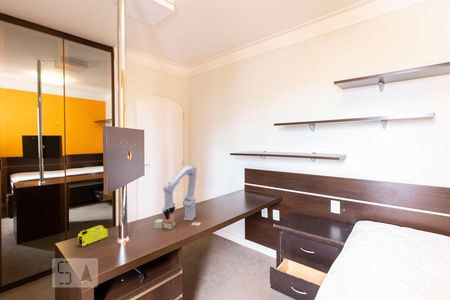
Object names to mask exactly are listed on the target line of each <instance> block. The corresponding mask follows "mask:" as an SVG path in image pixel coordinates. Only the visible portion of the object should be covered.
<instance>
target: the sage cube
mask: <svg viewBox="0 0 450 300" xmlns="http://www.w3.org/2000/svg"><path fill="white" fill-rule="evenodd" d="M164 223H165V218H164V219H162V218H161V219H160V218H159V219H158V218H157V219H156V220H155V221H154V229H162V228H164Z"/></svg>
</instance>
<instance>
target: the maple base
mask: <svg viewBox="0 0 450 300" xmlns="http://www.w3.org/2000/svg"><path fill="white" fill-rule="evenodd" d="M174 227H176V221H174V220H173V221H171V222H168V221H165V222H164V226H163V228H164V229H168V230H169V229H170V230H171V229H173V228H174Z"/></svg>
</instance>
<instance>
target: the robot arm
mask: <svg viewBox="0 0 450 300" xmlns="http://www.w3.org/2000/svg"><path fill="white" fill-rule="evenodd" d="M197 171H198V170H197V168H196V166H194V165H193V166H192V165H184V166H183V167H182V170H181V171H180V172H179V173H178V174H177V176H176V177H172V178H171V180H170V181H168V183H165V184H164V186H163V188H162V191H163V192H164V205H163V208H162V213H163V214H164V219H165V218H166V219H169V214H170V213H174V214H175V209H176V203H174V200H173V198H174V194H173V193H174V190H175V189H176V186H177V185H179V184H180V180H181V179H182V178H184V177H185V176H186V175H187V176H188V177H189V179H188V183H187V184H188V185H187V192H186V196H185V197H184V198H183V201H182V206H183V207H184V217H183V221H193V220H194V219H195V218H197V215H196V208H195V207H196V199H195V197H194V194H195V187H196V181H197Z"/></svg>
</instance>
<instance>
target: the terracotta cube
mask: <svg viewBox="0 0 450 300" xmlns="http://www.w3.org/2000/svg"><path fill="white" fill-rule="evenodd" d="M174 220H175V212H174V213H170V214H169V219H166V218H165V217H164V222H167V221H168V222H171V221H173V222H174Z"/></svg>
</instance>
